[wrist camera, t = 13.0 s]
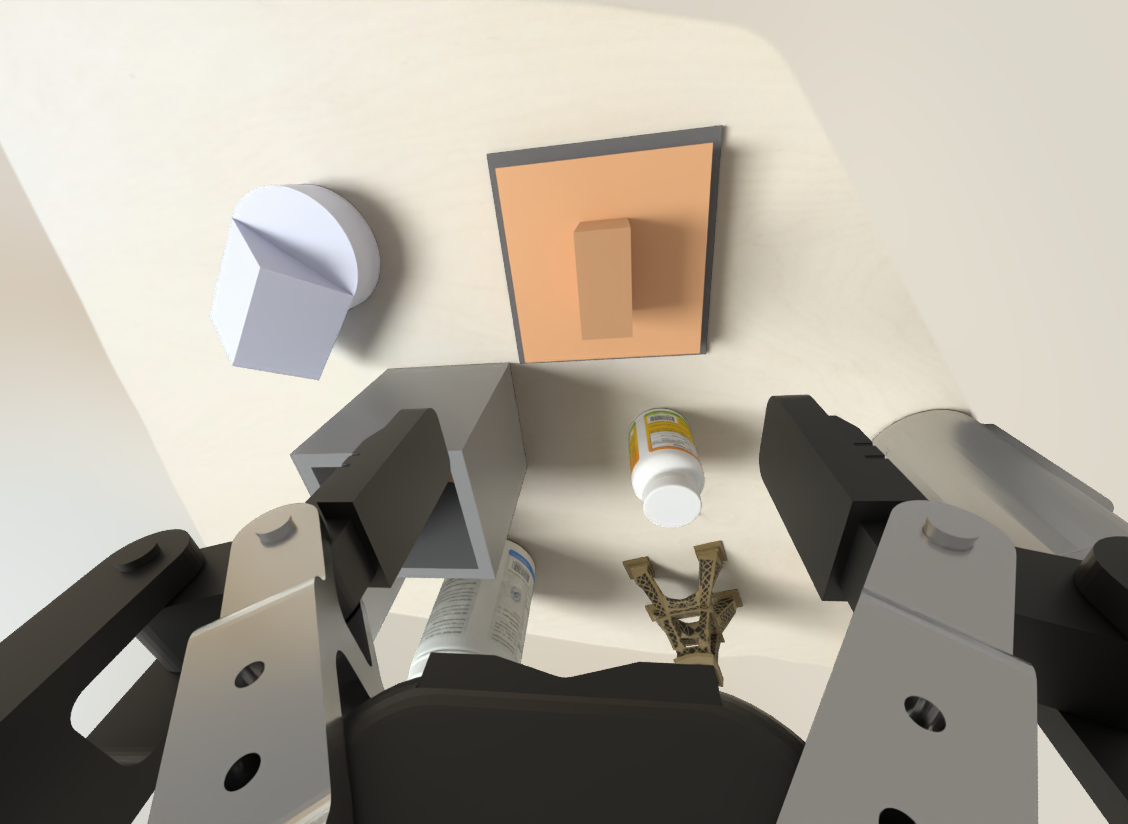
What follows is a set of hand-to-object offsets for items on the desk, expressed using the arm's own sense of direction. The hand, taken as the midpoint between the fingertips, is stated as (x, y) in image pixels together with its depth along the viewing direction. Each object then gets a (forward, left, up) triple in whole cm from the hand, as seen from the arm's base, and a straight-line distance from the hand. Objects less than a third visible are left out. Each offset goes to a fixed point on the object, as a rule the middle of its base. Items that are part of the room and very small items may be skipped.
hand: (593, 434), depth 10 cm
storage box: (+14, +13, -24) cm, 30 cm away
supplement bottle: (-4, +15, -24) cm, 28 cm away
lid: (0, 0, -23) cm, 23 cm away
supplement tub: (+14, +32, -24) cm, 42 cm away
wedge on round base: (+23, -1, -24) cm, 33 cm away
